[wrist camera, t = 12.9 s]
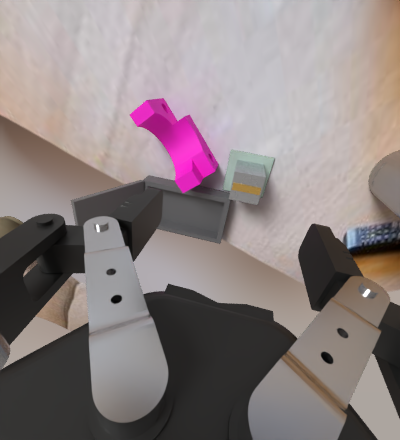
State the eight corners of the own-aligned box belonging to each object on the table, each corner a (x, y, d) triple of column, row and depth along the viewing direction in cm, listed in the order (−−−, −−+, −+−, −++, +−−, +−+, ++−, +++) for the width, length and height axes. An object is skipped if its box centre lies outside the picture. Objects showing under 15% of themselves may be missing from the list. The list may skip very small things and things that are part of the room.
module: (264, 164, 41) (265, 177, 35) (257, 189, 44) (257, 205, 38) (237, 159, 42) (234, 171, 36) (232, 184, 44) (228, 199, 38)
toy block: (218, 164, 44) (212, 177, 37) (192, 178, 46) (183, 193, 40) (174, 89, 39) (159, 89, 32) (148, 110, 41) (129, 114, 35)
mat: (274, 157, 41) (274, 158, 40) (261, 197, 45) (261, 198, 45) (231, 149, 42) (230, 150, 41) (222, 188, 46) (222, 189, 45)
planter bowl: (21, 256, 71) (-14, 281, 62) (-19, 214, 65) (-64, 235, 56) (54, 245, 66) (21, 271, 56) (13, 197, 59) (-31, 218, 50)
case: (232, 193, 46) (222, 237, 32) (221, 236, 52) (210, 288, 38) (121, 169, 48) (69, 201, 35) (123, 213, 54) (79, 254, 41)
